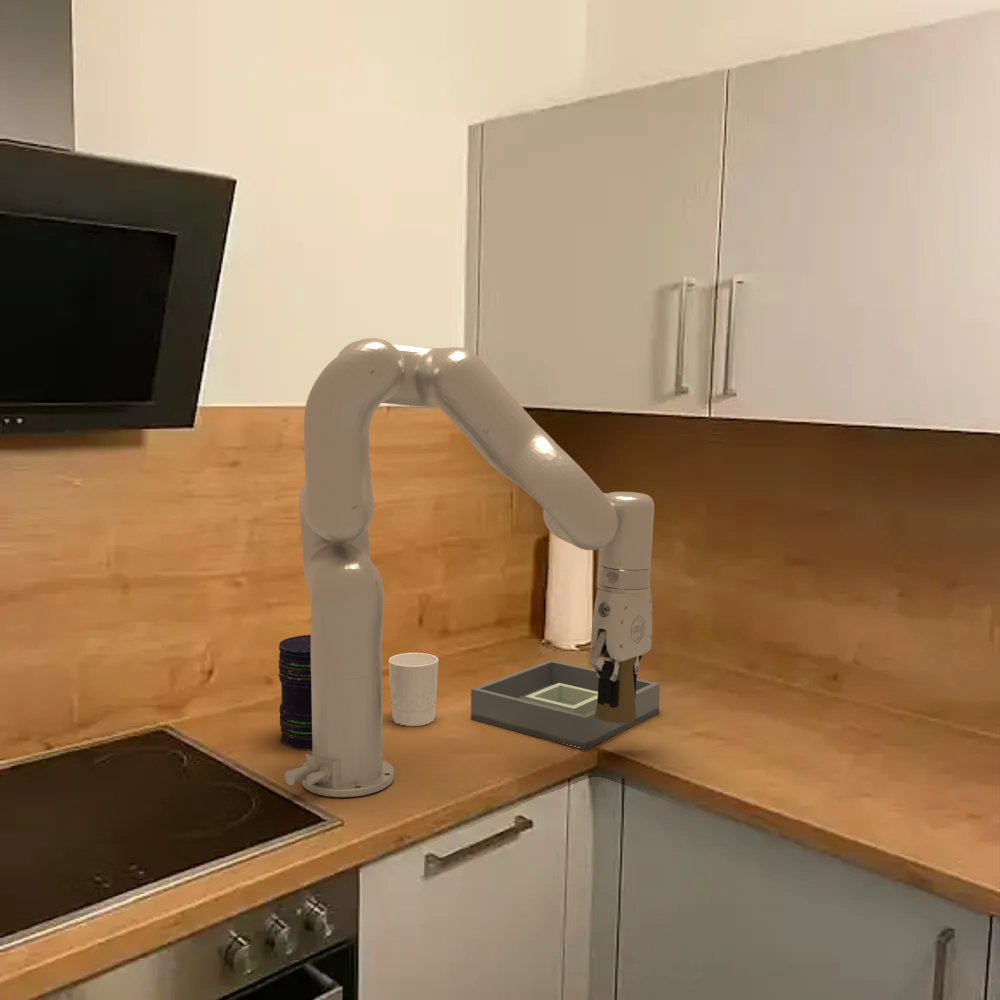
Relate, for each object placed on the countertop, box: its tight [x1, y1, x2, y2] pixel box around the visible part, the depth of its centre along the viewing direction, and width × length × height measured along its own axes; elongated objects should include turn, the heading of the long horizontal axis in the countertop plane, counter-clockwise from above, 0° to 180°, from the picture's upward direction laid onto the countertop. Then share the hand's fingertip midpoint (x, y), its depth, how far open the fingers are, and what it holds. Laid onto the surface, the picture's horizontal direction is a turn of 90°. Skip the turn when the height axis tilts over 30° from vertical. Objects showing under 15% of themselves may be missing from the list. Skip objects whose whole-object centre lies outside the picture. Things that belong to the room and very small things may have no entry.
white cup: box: [388, 652, 439, 727], centre depth 167 cm, size 8×8×10 cm
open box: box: [470, 659, 661, 751], centre depth 170 cm, size 22×22×5 cm
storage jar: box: [278, 634, 312, 751], centre depth 158 cm, size 10×10×15 cm
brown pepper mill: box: [595, 652, 637, 723], centre depth 152 cm, size 6×6×11 cm
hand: (616, 700), depth 152 cm, fingers closed on brown pepper mill, 4 cm apart
